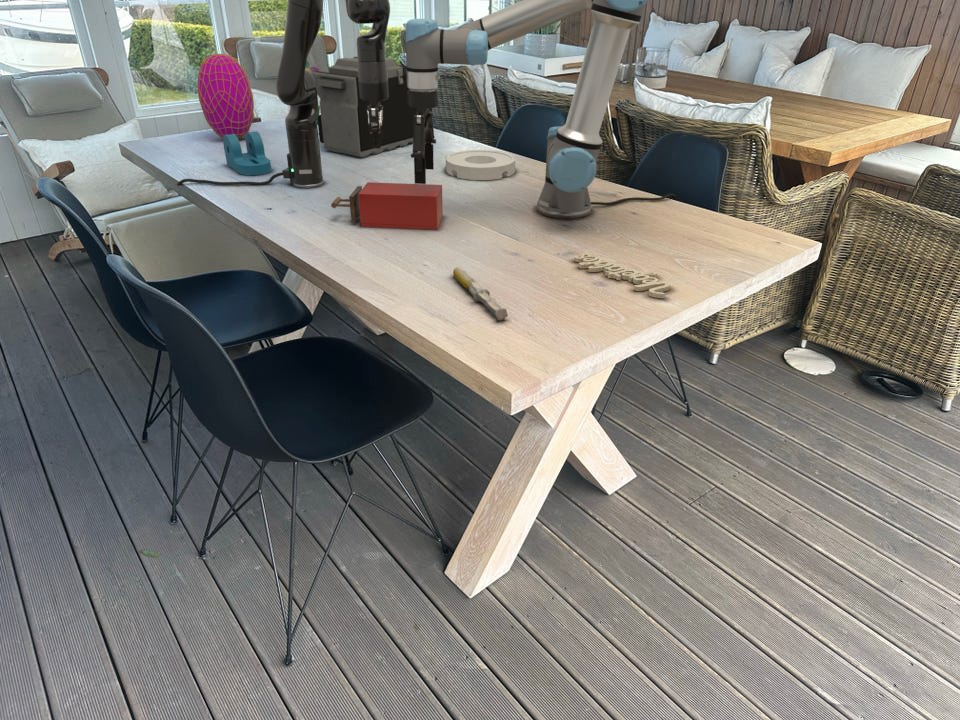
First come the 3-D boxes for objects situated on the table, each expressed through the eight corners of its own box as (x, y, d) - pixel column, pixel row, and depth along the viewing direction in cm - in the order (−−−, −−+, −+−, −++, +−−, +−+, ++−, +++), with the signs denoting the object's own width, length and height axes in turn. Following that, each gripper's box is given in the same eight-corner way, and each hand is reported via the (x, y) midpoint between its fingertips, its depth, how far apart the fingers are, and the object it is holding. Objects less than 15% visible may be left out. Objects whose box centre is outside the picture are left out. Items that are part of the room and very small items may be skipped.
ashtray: (448, 160, 240) (448, 149, 238) (514, 162, 240) (514, 150, 238) (443, 179, 220) (443, 166, 218) (515, 180, 220) (515, 168, 218)
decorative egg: (223, 147, 254) (207, 59, 238) (197, 138, 265) (180, 54, 250) (268, 138, 266) (256, 54, 251) (241, 130, 277) (228, 49, 262)
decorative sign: (686, 282, 150) (660, 295, 144) (686, 286, 150) (659, 300, 144) (592, 249, 166) (565, 259, 160) (592, 253, 167) (565, 263, 161)
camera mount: (227, 164, 233) (221, 132, 227) (257, 160, 238) (252, 129, 233) (244, 176, 220) (239, 143, 215) (276, 172, 225) (271, 139, 220)
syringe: (449, 274, 155) (449, 263, 153) (465, 272, 156) (464, 260, 154) (490, 323, 135) (491, 310, 133) (508, 319, 136) (508, 307, 134)
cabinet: (361, 226, 182) (358, 193, 177) (369, 213, 191) (367, 182, 186) (437, 229, 180) (436, 196, 176) (442, 216, 189) (442, 184, 185)
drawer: (330, 221, 182) (327, 195, 179) (339, 210, 190) (337, 185, 187) (422, 224, 181) (421, 199, 177) (428, 213, 189) (427, 188, 185)
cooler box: (383, 133, 276) (378, 52, 261) (425, 141, 265) (422, 56, 250) (314, 150, 251) (304, 61, 235) (358, 160, 240) (350, 67, 224)
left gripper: (386, 84, 170) (390, 150, 178) (389, 75, 182) (392, 138, 190) (356, 84, 169) (361, 151, 177) (360, 75, 181) (365, 138, 190)
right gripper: (430, 99, 157) (431, 190, 168) (444, 82, 178) (445, 164, 189) (397, 97, 157) (401, 189, 168) (416, 81, 179) (418, 162, 190)
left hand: (377, 144), depth 184 cm, fingers open, 8 cm apart
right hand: (424, 176), depth 179 cm, fingers open, 13 cm apart
